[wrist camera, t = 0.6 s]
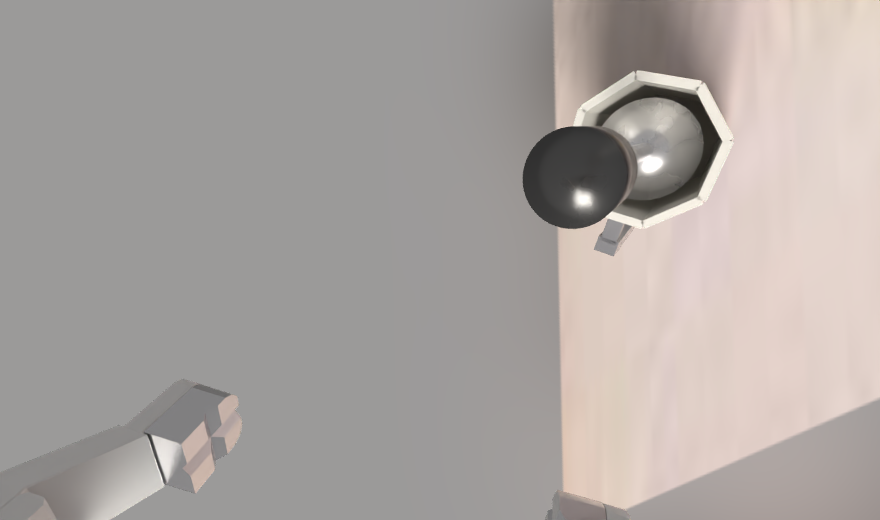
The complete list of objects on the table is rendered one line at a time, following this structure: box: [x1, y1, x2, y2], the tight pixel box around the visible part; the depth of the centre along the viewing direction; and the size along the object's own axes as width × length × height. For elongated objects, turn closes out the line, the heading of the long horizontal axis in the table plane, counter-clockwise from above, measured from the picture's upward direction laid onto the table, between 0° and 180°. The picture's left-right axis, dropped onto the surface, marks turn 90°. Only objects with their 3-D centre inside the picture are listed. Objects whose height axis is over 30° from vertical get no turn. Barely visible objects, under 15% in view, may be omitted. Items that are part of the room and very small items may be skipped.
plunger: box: [523, 98, 704, 229], centre depth 24 cm, size 8×8×22 cm
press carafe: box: [573, 70, 734, 256], centre depth 37 cm, size 13×10×16 cm
